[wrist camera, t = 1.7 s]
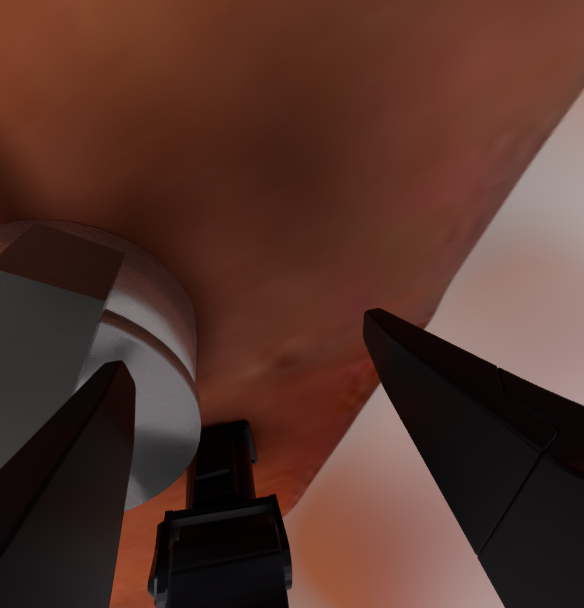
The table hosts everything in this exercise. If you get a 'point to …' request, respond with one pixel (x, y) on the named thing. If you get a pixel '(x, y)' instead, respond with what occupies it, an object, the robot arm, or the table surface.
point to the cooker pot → (136, 288)
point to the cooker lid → (86, 354)
